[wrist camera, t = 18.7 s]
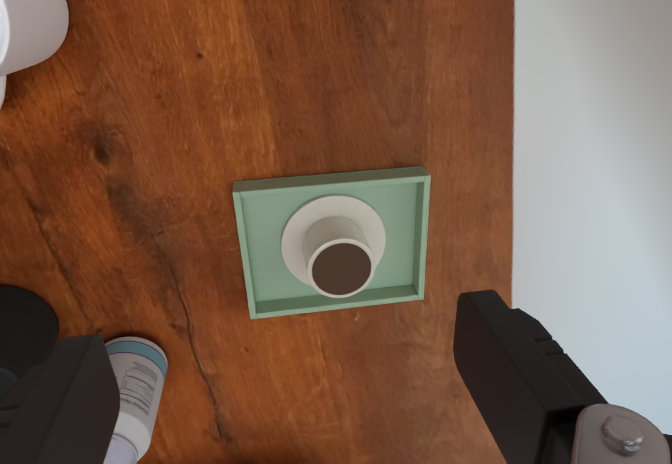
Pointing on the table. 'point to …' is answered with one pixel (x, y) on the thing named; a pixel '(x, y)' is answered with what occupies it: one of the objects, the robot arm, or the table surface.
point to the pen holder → (23, 334)
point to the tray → (291, 192)
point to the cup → (29, 34)
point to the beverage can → (135, 396)
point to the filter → (334, 244)
